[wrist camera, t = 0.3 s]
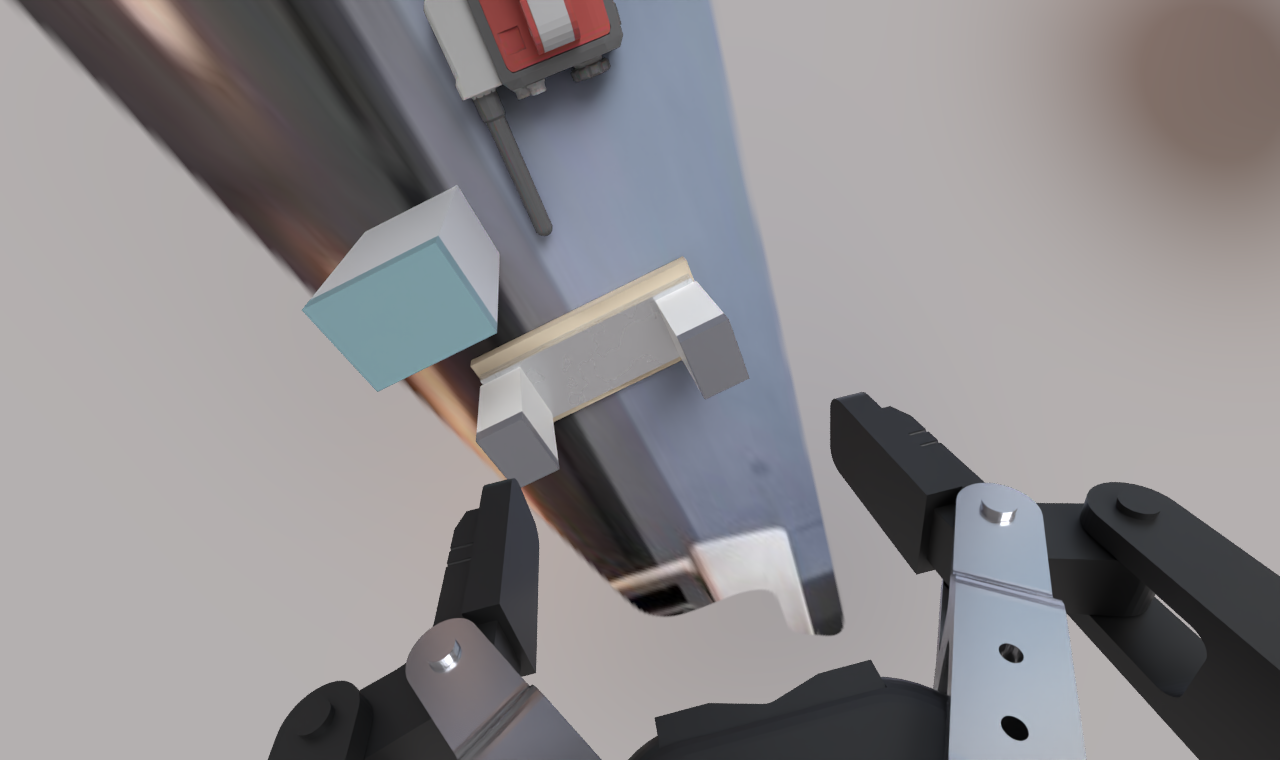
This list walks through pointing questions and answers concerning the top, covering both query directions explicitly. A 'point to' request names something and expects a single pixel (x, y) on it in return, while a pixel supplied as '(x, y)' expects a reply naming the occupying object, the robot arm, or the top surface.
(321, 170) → the top surface
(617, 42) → the walkie-talkie
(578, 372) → the rail
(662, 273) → the wood panel
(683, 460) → the top surface
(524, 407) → the mounted modules
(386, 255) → the block
